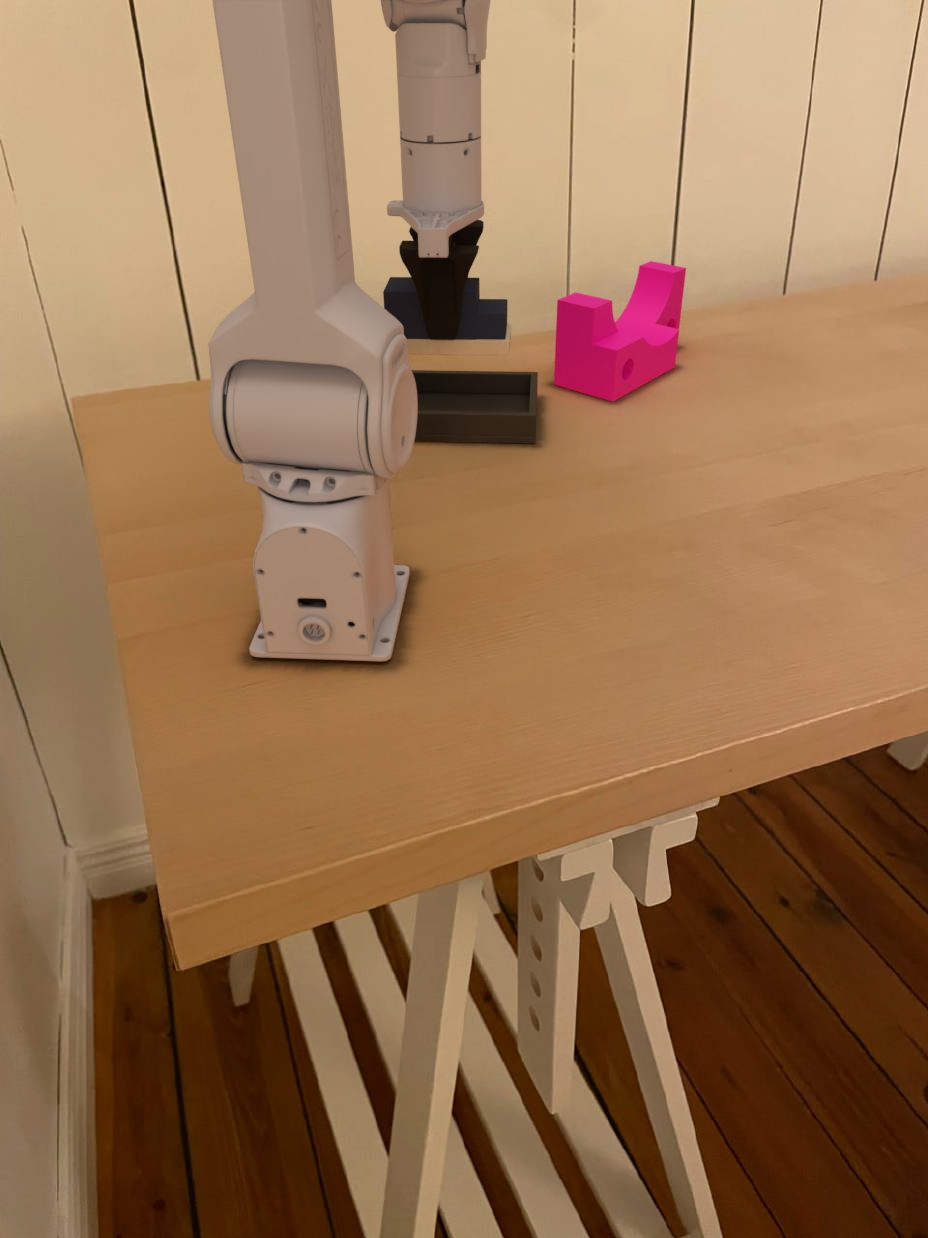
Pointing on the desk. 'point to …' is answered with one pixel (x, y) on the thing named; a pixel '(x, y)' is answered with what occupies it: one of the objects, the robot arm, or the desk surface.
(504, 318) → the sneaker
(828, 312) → the desk surface
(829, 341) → the desk surface
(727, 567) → the desk surface
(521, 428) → the tray
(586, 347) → the toy block
